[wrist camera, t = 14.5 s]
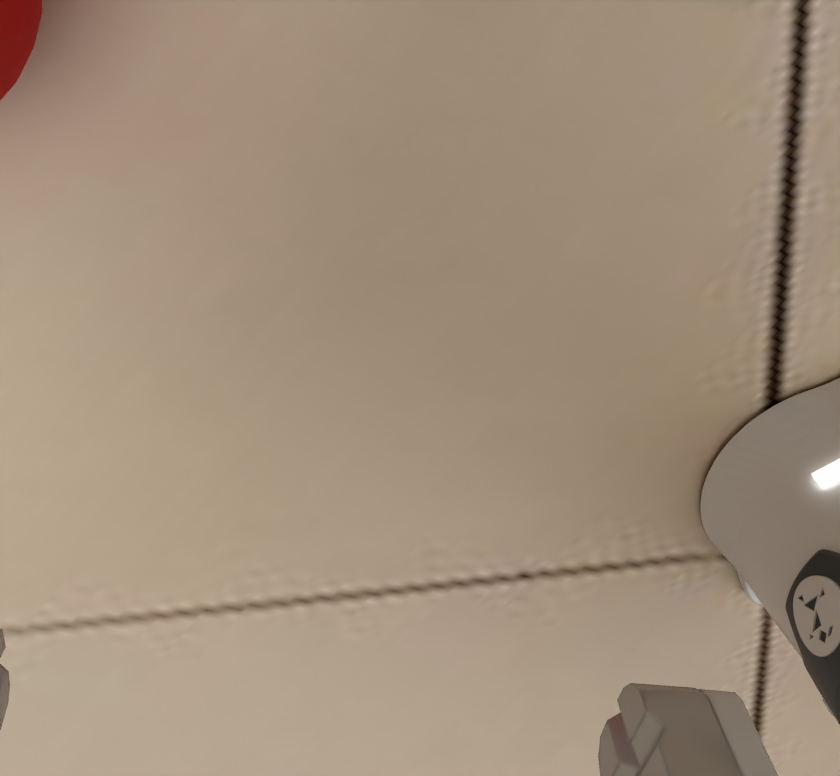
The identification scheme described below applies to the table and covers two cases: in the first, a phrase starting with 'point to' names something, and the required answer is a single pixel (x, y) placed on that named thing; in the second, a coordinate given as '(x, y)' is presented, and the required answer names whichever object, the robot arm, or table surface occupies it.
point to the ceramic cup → (16, 38)
